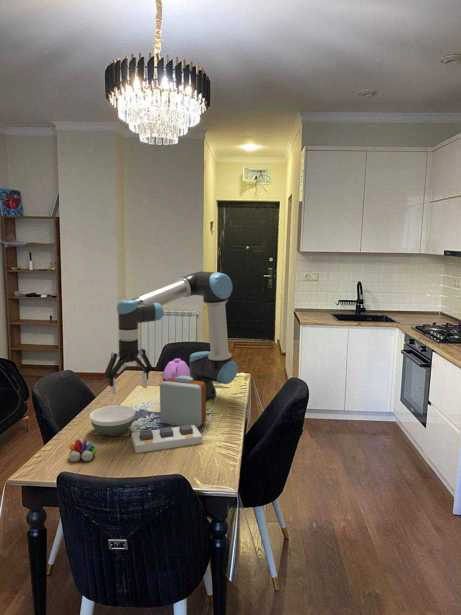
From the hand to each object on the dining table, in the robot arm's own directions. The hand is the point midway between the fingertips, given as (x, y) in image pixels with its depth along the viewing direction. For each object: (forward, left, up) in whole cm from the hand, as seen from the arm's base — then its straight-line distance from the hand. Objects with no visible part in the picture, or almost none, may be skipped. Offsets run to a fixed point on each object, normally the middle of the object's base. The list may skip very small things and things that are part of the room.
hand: (129, 390), depth 189 cm
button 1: (-5, +11, -17) cm, 21 cm away
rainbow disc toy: (+19, +14, -20) cm, 31 cm away
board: (-13, +11, -19) cm, 25 cm away
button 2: (-21, +11, -17) cm, 29 cm away
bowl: (+6, -6, -19) cm, 21 cm away
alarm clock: (-24, -6, -19) cm, 31 cm away
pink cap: (-36, -69, -20) cm, 81 cm away
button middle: (-13, +11, -17) cm, 24 cm away
